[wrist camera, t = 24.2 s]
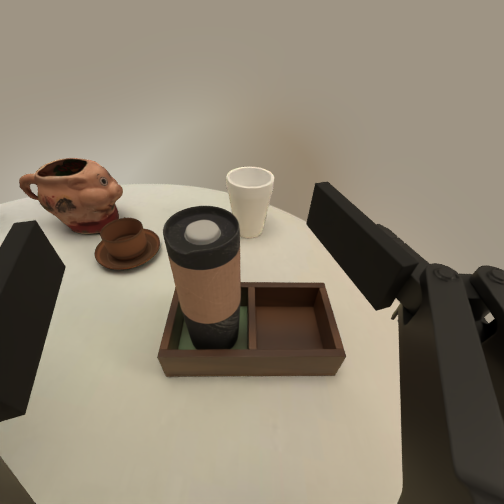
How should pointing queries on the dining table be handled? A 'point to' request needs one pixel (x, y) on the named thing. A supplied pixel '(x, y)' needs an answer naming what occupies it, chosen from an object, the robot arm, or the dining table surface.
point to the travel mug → (206, 273)
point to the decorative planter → (76, 193)
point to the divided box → (262, 336)
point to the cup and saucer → (126, 244)
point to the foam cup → (250, 198)
